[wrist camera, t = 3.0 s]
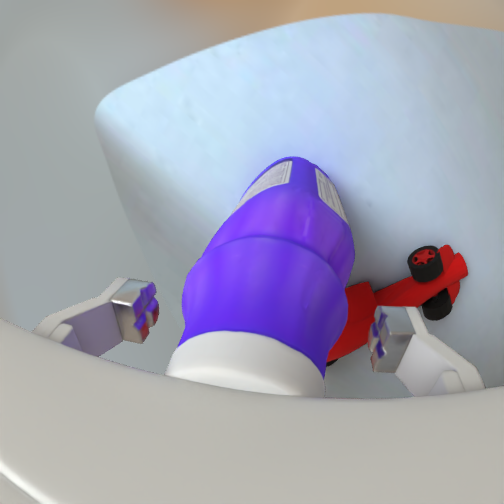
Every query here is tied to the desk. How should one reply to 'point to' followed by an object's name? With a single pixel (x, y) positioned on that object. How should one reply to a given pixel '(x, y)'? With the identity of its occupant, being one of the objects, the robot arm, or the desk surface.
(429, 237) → the desk surface
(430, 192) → the desk surface
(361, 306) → the toy car
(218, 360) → the bottle
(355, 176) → the desk surface
